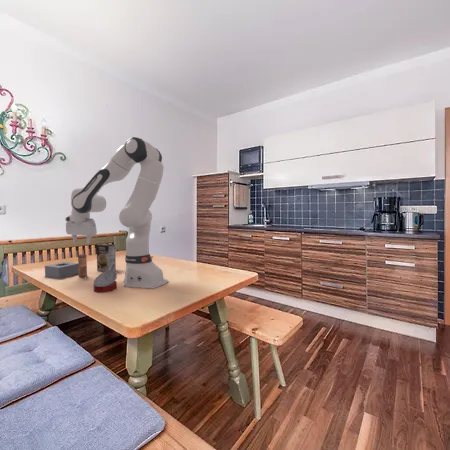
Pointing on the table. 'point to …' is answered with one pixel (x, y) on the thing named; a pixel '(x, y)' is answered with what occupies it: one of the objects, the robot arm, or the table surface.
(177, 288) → the table surface
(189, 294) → the table surface
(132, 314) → the table surface
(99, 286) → the canned food
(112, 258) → the coffee box
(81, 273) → the terracotta peg
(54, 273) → the socket block
